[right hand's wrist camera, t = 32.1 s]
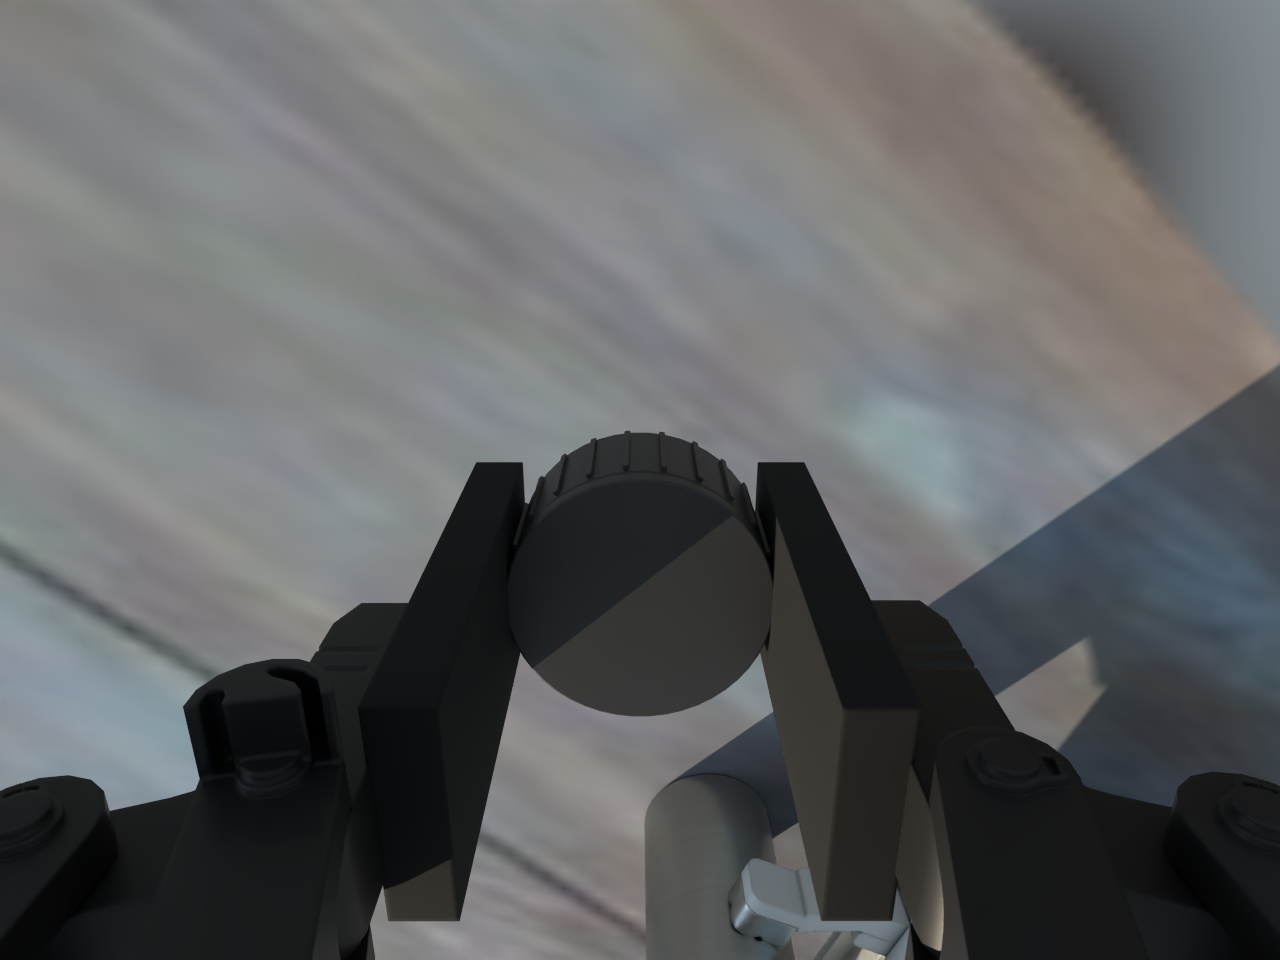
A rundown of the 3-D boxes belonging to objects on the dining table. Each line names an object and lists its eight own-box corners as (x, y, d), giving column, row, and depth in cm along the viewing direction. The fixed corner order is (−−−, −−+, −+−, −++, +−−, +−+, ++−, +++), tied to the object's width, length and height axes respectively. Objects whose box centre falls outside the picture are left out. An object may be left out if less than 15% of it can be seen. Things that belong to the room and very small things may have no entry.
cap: (672, 683, 16) (676, 762, 14) (474, 573, 15) (450, 639, 13) (809, 511, 14) (835, 570, 13) (602, 380, 14) (596, 422, 12)
